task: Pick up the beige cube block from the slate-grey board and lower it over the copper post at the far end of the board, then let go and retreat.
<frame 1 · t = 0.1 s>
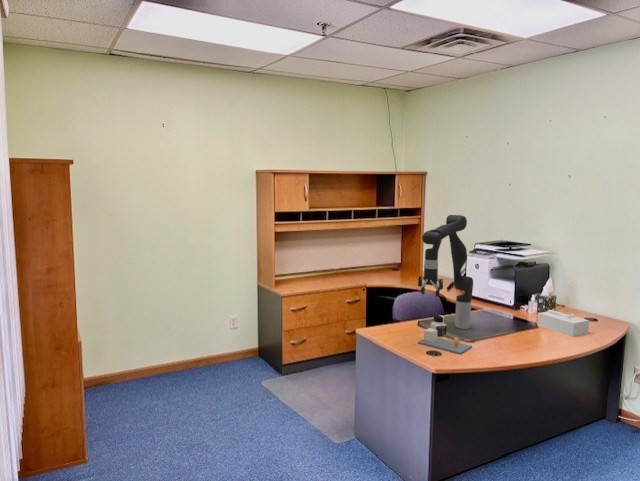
hand: (430, 295, 269), 29 cm above the table, fingers open, 8 cm apart
medicine bottle: (438, 335, 290), on the table
board: (444, 345, 271), on the table
beige cube block: (430, 340, 277), point 1 cm above the table, touching board
tissue box: (562, 330, 303), on the table
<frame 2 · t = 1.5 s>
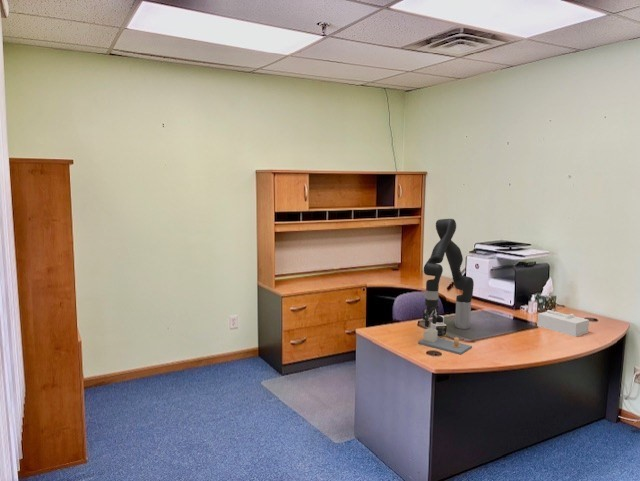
hand: (430, 325, 276), 10 cm above the table, fingers open, 8 cm apart
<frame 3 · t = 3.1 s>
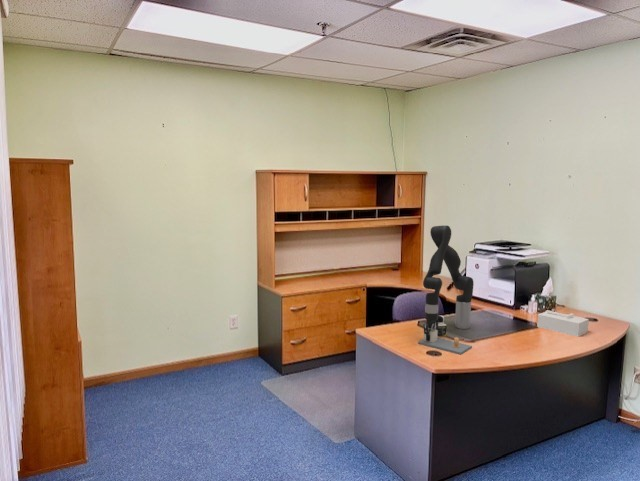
hand: (430, 339, 277), 2 cm above the table, fingers closed on beige cube block, 5 cm apart
beige cube block: (430, 340, 277), point 1 cm above the table, touching board, gripper
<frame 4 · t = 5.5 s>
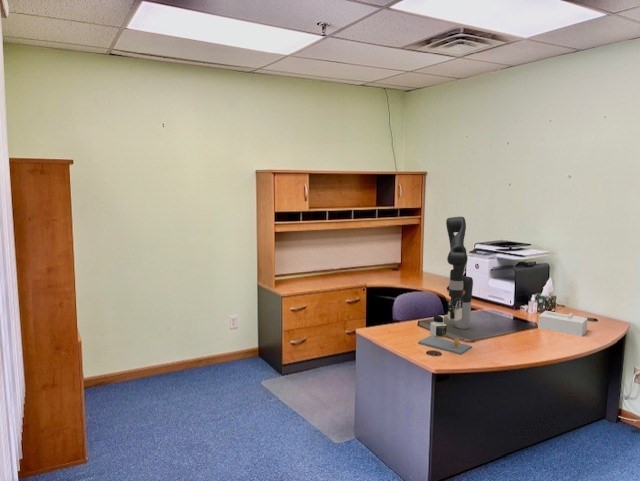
hand: (454, 317, 265), 18 cm above the table, fingers closed on beige cube block, 5 cm apart
beige cube block: (454, 318, 265), point 17 cm above the table, touching gripper
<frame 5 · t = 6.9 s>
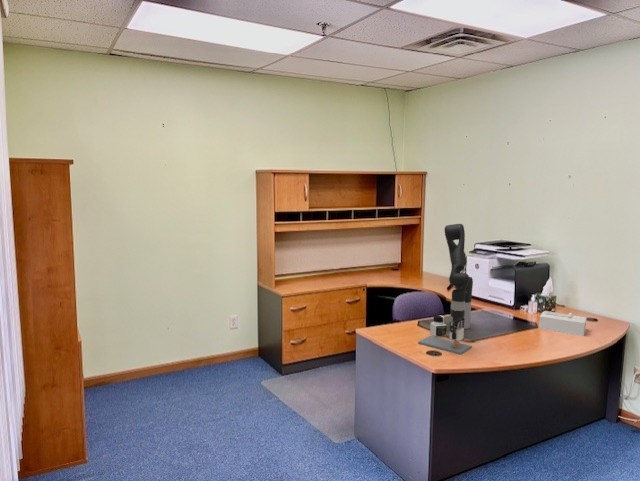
hand: (456, 337, 266), 6 cm above the table, fingers closed on beige cube block, 5 cm apart
beige cube block: (456, 338, 266), point 6 cm above the table, touching gripper
when the fingers open (3 cm above the table, at t = 8.0 s): beige cube block drops 1 cm, resting on board.
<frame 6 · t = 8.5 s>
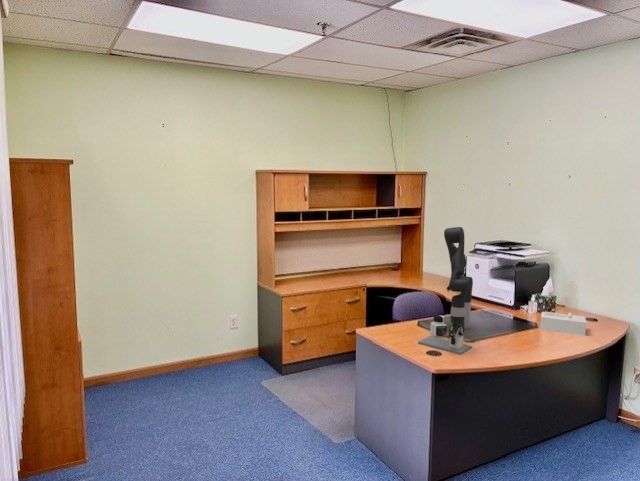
hand: (456, 342, 266), 4 cm above the table, fingers open, 8 cm apart
beige cube block: (456, 346, 266), point 1 cm above the table, touching board
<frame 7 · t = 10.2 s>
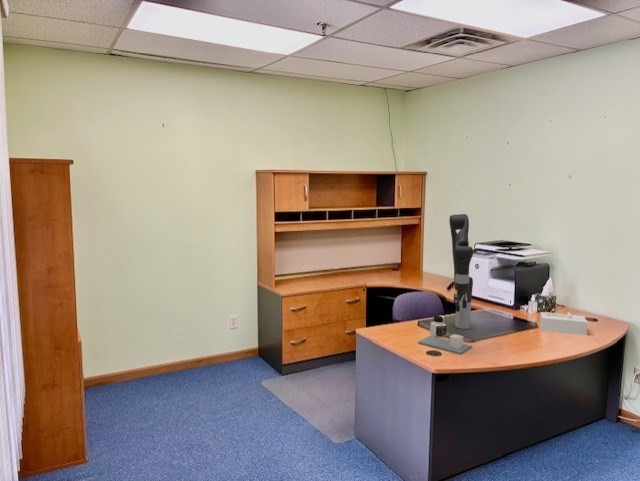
hand: (461, 309, 267), 22 cm above the table, fingers open, 8 cm apart
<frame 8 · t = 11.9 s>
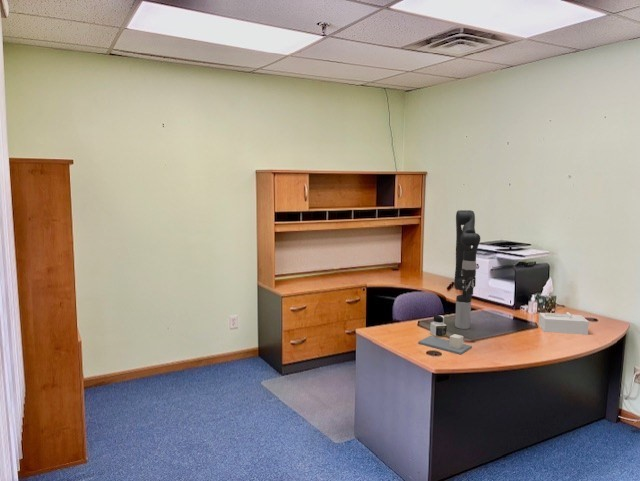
hand: (467, 295, 272), 28 cm above the table, fingers open, 8 cm apart
at the end: beige cube block 0.0 cm from the target spot on the board, point 1.2 cm above the board's base; beige cube block tilted 0°; the gripper is holding nothing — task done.
